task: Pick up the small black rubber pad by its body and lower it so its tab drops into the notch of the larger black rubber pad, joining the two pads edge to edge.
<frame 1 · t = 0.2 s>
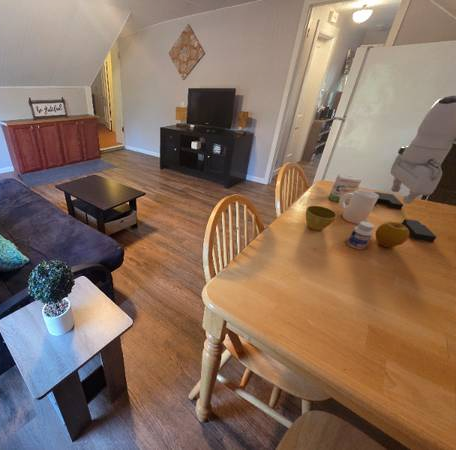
hand: (399, 196, 82), 18 cm above the table, tool pointing down, fingers open, 8 cm apart
flower pot: (314, 227, 98), on the table
ink box: (339, 200, 120), on the table
apple: (384, 245, 88), on the table
pill bottle: (355, 245, 88), on the table
mug: (348, 217, 105), on the table
big pad: (377, 201, 118), on the table
small pad: (416, 234, 94), on the table
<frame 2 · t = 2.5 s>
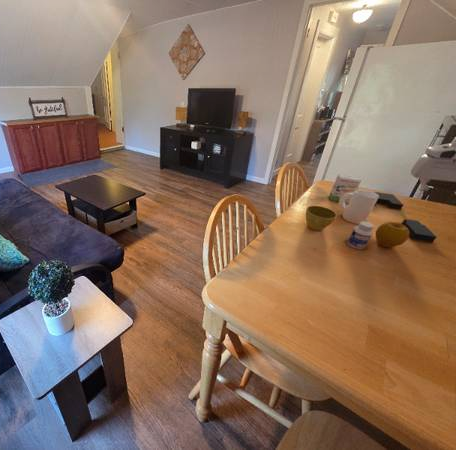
hand: (440, 192, 84), 18 cm above the table, tool pointing down, fingers open, 8 cm apart
nothing on the table moved.
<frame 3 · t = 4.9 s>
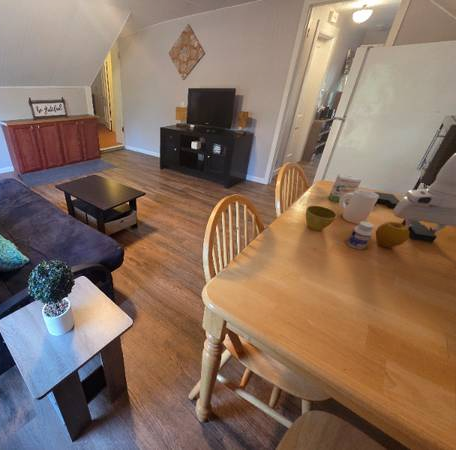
hand: (418, 230, 93), 2 cm above the table, tool pointing down, fingers closed on small pad, 6 cm apart
small pad: (416, 234, 94), on the table, touching gripper
everything else where it was.
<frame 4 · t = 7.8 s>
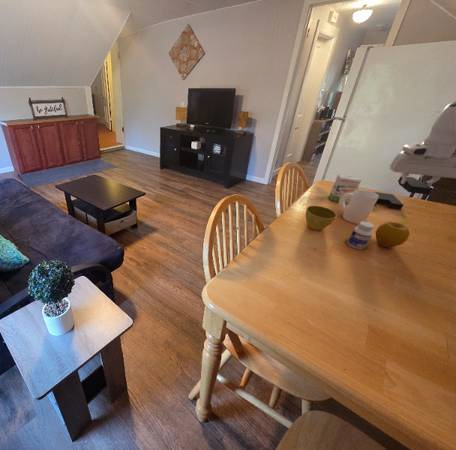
hand: (414, 185, 97), 15 cm above the table, tool pointing down, fingers closed on small pad, 6 cm apart
small pad: (412, 189, 98), point 14 cm above the table, touching gripper
everything else where it was.
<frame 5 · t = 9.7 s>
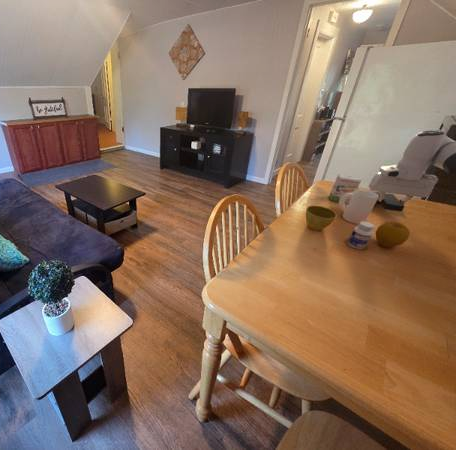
hand: (390, 202, 108), 4 cm above the table, tool pointing down, fingers closed on small pad, 6 cm apart
small pad: (388, 205, 108), point 3 cm above the table, touching gripper
everything else where it was.
when the fingers open (1 cm above the table, at t = 11.1 s): small pad stays where it is, on the table.
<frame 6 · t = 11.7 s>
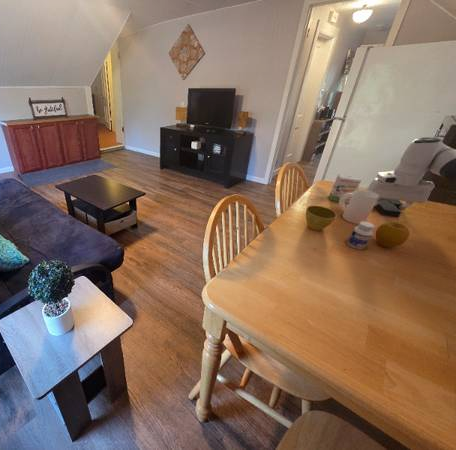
hand: (388, 207, 109), 2 cm above the table, tool pointing down, fingers open, 8 cm apart
small pad: (385, 211, 110), on the table
everything else where it was.
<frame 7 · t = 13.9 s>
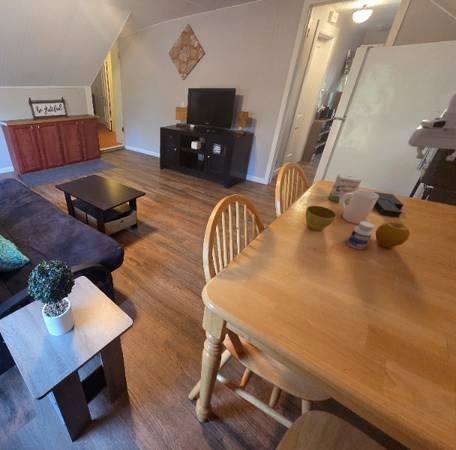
hand: (433, 159, 98), 23 cm above the table, tool pointing down, fingers open, 8 cm apart
nothing on the table moved.
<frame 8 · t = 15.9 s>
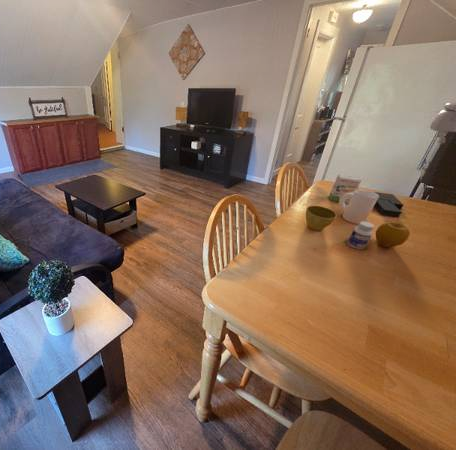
hand: (455, 144, 96), 29 cm above the table, tool pointing down, fingers open, 8 cm apart
nothing on the table moved.
at the end: small pad 0.2 cm from the target spot on the table beside the big pad, on the table; small pad tilted 0° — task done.
